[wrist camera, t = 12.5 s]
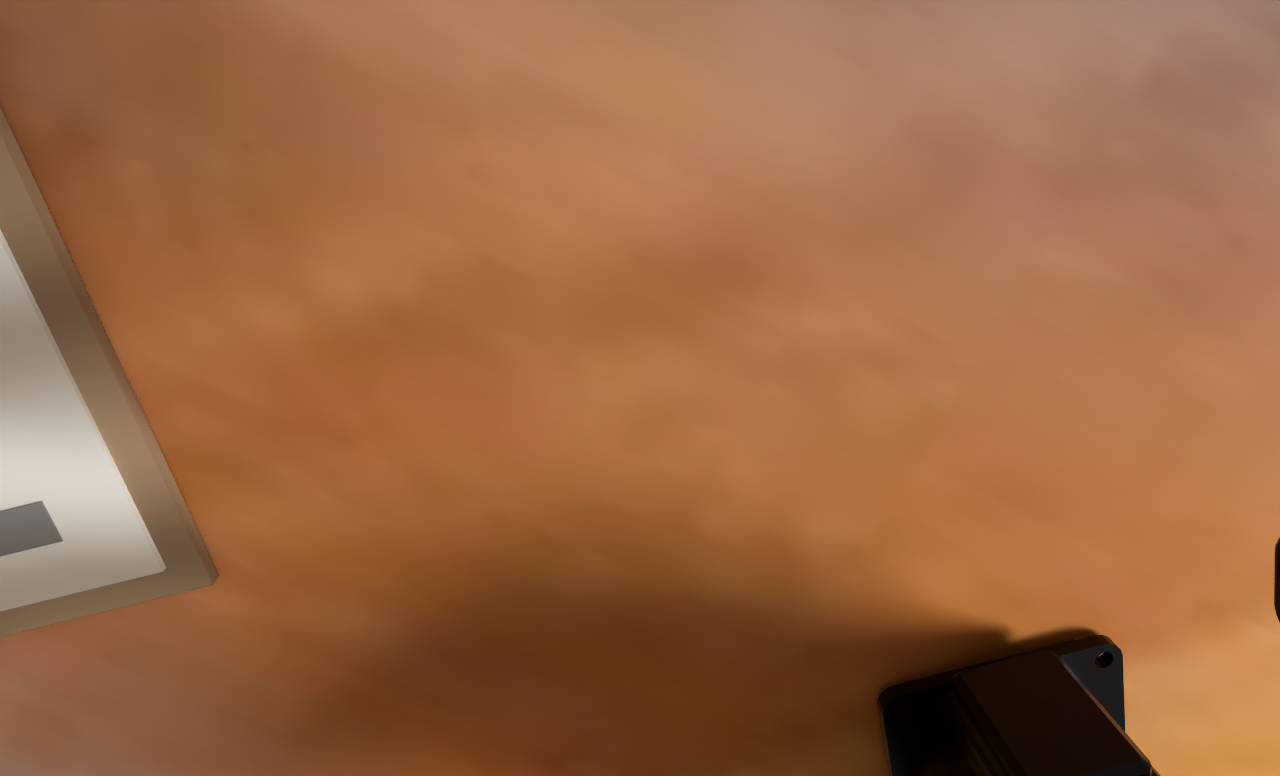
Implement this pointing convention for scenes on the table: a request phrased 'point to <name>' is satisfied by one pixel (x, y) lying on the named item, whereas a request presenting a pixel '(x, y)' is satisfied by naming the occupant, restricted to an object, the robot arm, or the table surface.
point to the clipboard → (74, 441)
